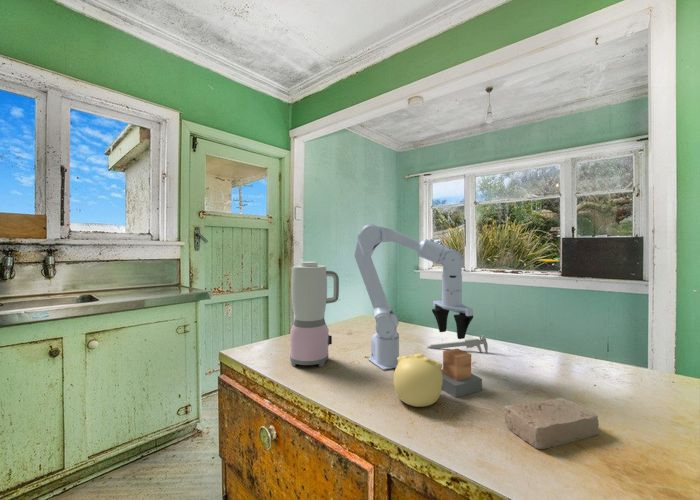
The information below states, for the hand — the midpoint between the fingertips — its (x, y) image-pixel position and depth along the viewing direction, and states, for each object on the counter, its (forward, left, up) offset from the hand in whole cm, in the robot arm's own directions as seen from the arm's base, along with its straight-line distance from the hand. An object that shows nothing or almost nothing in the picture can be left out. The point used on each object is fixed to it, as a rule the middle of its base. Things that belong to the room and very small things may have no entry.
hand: (451, 335), depth 93 cm
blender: (-24, -35, -11) cm, 44 cm away
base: (+9, -7, -10) cm, 15 cm away
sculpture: (+10, -20, -11) cm, 25 cm away
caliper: (-12, +14, -11) cm, 21 cm away
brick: (+32, -4, -11) cm, 34 cm away
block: (+9, -7, -7) cm, 13 cm away
